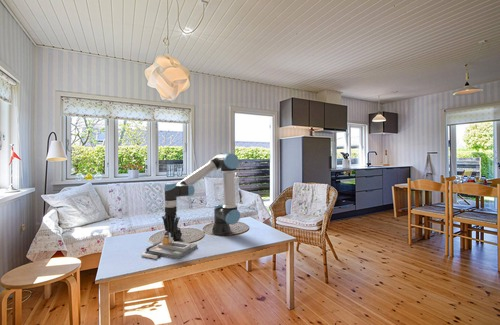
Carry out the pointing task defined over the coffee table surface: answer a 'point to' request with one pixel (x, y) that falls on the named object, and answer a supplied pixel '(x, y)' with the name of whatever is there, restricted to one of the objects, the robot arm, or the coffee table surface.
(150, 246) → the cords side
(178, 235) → the camera
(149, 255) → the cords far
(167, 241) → the breaker lever
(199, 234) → the coffee table surface
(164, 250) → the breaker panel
